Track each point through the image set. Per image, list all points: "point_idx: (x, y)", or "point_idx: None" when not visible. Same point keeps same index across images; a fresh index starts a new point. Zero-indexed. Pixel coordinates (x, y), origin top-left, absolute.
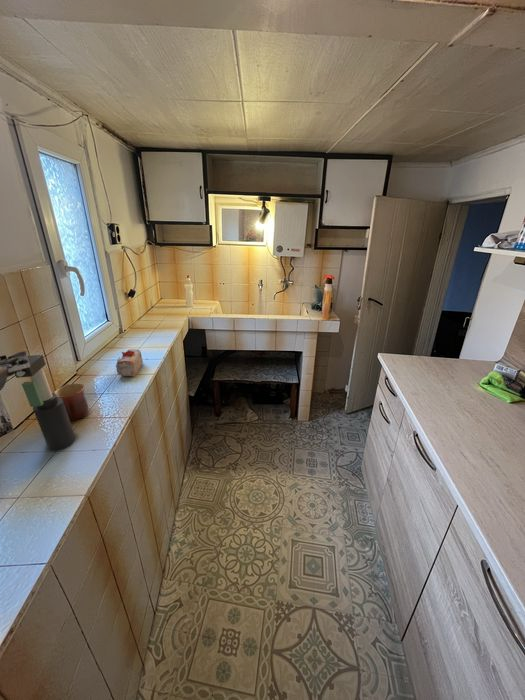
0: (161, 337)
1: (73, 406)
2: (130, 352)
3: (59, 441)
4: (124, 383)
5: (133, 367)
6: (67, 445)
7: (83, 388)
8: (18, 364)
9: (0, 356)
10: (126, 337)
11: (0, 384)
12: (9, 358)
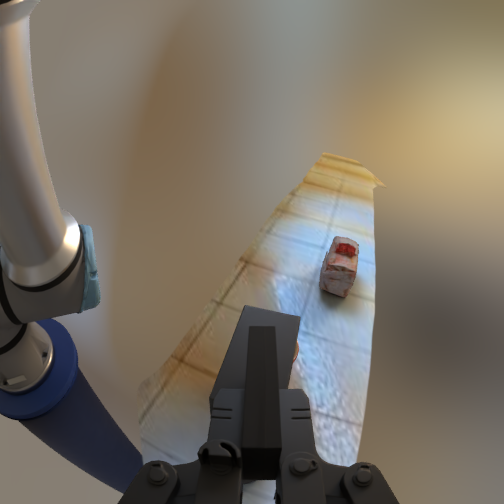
0: (356, 212)
1: None
2: (350, 247)
3: (246, 480)
4: (331, 312)
5: (352, 282)
6: (255, 480)
7: (298, 350)
8: None
9: (203, 449)
10: (300, 196)
11: None
12: (248, 451)
